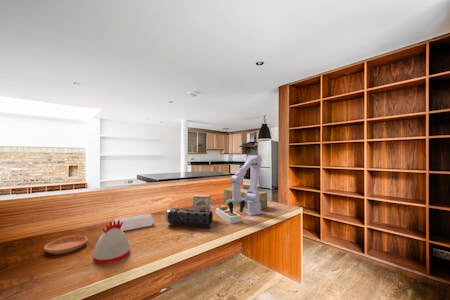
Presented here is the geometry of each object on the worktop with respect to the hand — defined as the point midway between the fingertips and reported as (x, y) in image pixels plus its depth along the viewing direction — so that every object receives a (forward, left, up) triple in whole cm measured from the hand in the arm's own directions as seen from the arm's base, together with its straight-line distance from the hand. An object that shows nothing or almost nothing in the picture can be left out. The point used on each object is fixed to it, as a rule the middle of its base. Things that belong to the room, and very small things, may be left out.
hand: (236, 212), depth 134 cm
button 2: (+3, 0, -3) cm, 5 cm away
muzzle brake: (+32, -2, -5) cm, 33 cm away
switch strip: (+3, -7, -5) cm, 9 cm away
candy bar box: (+21, -10, -5) cm, 24 cm away
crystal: (+64, -14, -5) cm, 65 cm away
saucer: (+92, +1, -5) cm, 93 cm away
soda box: (-26, -33, -5) cm, 42 cm away
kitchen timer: (+72, +18, -5) cm, 75 cm away
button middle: (+3, -7, -3) cm, 8 cm away
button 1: (+3, -14, -2) cm, 14 cm away
